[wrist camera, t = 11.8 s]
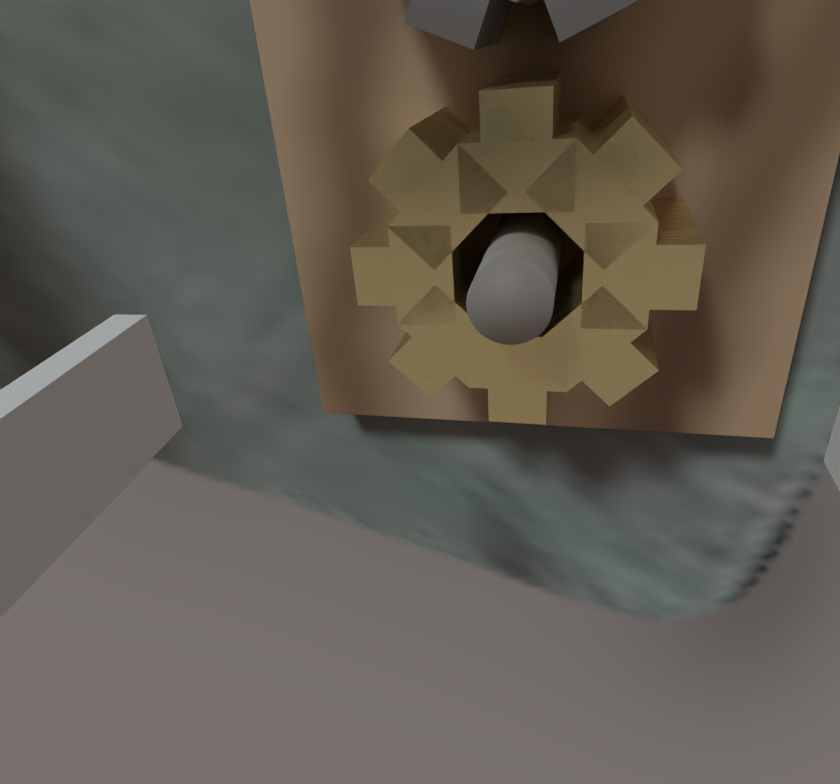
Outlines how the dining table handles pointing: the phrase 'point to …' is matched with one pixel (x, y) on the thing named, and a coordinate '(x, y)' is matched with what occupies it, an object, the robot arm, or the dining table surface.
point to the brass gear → (526, 193)
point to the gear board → (683, 90)
